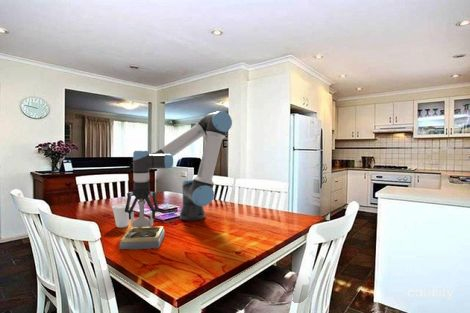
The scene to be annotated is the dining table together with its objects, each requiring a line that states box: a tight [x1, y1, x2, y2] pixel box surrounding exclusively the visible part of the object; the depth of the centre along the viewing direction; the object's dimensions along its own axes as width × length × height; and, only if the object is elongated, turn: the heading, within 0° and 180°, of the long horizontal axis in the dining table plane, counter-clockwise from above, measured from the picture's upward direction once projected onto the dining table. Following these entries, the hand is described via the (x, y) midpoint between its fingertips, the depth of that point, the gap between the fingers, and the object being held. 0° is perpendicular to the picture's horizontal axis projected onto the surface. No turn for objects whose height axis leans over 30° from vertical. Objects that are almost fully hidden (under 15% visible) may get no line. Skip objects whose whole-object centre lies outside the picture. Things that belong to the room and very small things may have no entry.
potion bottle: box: [132, 199, 152, 228], centre depth 131 cm, size 9×9×18 cm
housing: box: [119, 226, 166, 250], centre depth 118 cm, size 16×16×4 cm
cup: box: [111, 203, 132, 229], centre depth 141 cm, size 10×10×11 cm
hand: (142, 225), depth 132 cm, fingers closed on potion bottle, 9 cm apart
